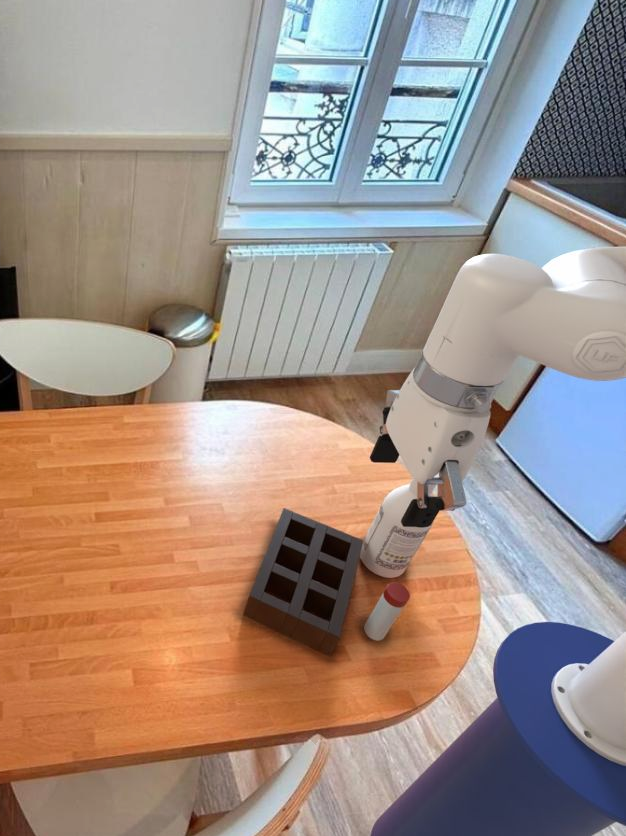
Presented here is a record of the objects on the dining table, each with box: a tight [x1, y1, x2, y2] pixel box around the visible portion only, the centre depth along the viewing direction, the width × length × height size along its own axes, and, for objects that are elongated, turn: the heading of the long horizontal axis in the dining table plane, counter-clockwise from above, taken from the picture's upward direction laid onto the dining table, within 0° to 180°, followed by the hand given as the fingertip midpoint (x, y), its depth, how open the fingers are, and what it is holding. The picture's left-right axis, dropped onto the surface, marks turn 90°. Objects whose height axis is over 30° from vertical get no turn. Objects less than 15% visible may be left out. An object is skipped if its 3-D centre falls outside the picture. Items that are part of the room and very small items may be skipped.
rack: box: [242, 507, 364, 657], centre depth 90 cm, size 12×18×5 cm
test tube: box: [363, 581, 411, 641], centre depth 83 cm, size 3×3×10 cm
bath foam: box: [359, 473, 439, 579], centre depth 89 cm, size 7×7×20 cm
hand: (397, 491), depth 71 cm, fingers open, 9 cm apart
